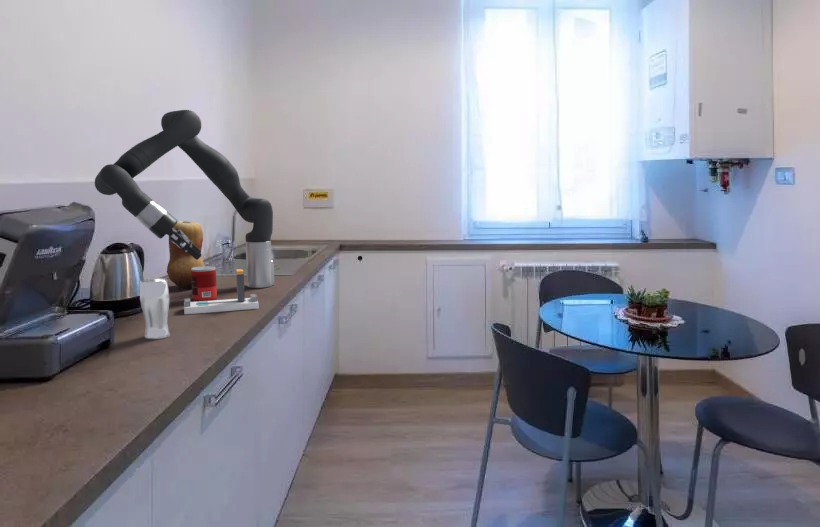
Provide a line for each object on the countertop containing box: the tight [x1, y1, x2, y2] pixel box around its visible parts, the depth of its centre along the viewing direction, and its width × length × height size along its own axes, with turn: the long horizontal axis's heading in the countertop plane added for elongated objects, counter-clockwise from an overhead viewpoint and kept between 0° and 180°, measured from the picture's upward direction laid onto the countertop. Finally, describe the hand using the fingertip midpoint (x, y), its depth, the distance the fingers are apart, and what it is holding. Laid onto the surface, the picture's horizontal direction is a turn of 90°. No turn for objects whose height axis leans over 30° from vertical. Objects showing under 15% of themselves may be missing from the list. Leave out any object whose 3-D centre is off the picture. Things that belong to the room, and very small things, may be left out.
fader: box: [235, 268, 246, 302], centre depth 184 cm, size 2×4×10 cm, turn 21°
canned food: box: [191, 265, 218, 302], centre depth 195 cm, size 8×8×11 cm
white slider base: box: [183, 293, 260, 315], centre depth 183 cm, size 22×8×4 cm, turn 111°
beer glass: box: [139, 277, 171, 340], centre depth 150 cm, size 7×7×15 cm
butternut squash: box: [166, 220, 205, 289], centre depth 216 cm, size 14×13×25 cm
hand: (199, 255), depth 178 cm, fingers open, 8 cm apart
